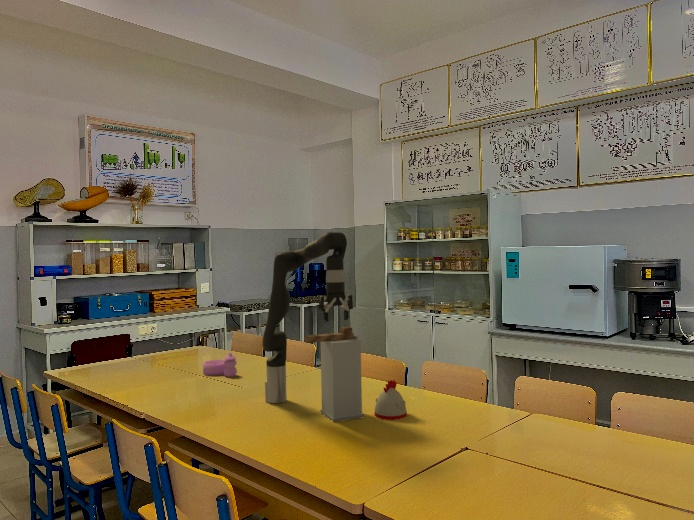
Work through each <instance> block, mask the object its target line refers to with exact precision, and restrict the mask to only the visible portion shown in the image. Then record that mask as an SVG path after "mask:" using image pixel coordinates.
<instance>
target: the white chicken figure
mask: <svg viewBox="0 0 694 520" xmlns="http://www.w3.org/2000/svg"><path fill="white" fill-rule="evenodd" d="M397 384H398V382H397V381H395V379H392V380H387V383H385V387H383V390H382V391H381V392H380V393H379V395H378V396H377V398H375V405H374V417H375V416H376V417H375V418H377V417H378V418H377V419H379V418H381V419H380V420H384V419H386V420H385V421H396V420H395V419H398V420H401V418H402V419H404V417H405V418H406V417H407V416H408V415H407V413H408V412H407V407H406V401H405V400H404V398H403V396H402V395H401V393H400V392H399V391H398V390H397V389H396V387H397ZM406 415H407V416H406Z"/></svg>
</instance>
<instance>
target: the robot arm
mask: <svg viewBox="0 0 694 520" xmlns="http://www.w3.org/2000/svg"><path fill="white" fill-rule="evenodd" d="M347 246H348V240H347V237H346V235H345V234H344V233H343V232H337V231H336V232H335V231H333V232H332V231H331V232H330V231H328V232H325V233H323V234H322V235H321V236H319V237H318V238H317V239H315V240H314V241H311V242H310V243H309V242H308V244H306V245H305V246H304V248H301V249H297V250H288V251H283V252H279V253H277V254H276V256H275V257H274V260H273V271H272V272H273V273H272V274H273V275H272V284H271V294H270V298H269V305H268V312H267V320H266V325H265V327H264V331H263V335H262V348H263V351H265V352H266V353H267V352H276V353H274V355H272V356H271V357H269V358H267V359H266V380H265V382H264V391H265V392H264V394H265V395H264V396H265V402H266V403H267V402H268V403H269V404H281V403H285V402H287V348H288V347H287V346H288V340H287V339H288V338H287V335H286V332H285V331H283V330H280V331H276V329H277V327H278V325H279V324H280V323H281V322H282V320H284V319H285V317H286V315H287V314H288V312H289V309H290V304H291V293H290V292H289V289H288V288H287V286H286V279H287V275H288V273H291V272H295V271H297V270H298V269H300V268H301V267H303V266H304V265H305V264H307V263H308V262H310V261H312V260H315V259H317V258H319V257H323V256H325V255H327V254H328V253H329V251H330V250H333V252H332V254H331V255H329V256H327V257H326V259H325V262H326V263H325V264H326V265H325V266H326V272H325V273H326V275H325V283H326V284H325V285H326V286H325V289H326V295H324V296H323V295H319V297H318V311H321V312H323V314H322V315H323V316H322V317H323V320H324V321H325V322H329V311H330V309H331V308H332V307H336V306H338V307H341V308H342V309H343V320H344V321H348V320H349V316H350V314H349V311H350V310H353V309H354V306H353V305H354V303H353V295H352V294H346V293H345V292H346V290H345V289H346V288H345V284H346V283H345V272H344V271H345V269H344V260H345V259H344V258H345V254H346V250H347ZM345 300H346V301H347V303H346V301H345ZM325 301H327V302H326V303H325Z"/></svg>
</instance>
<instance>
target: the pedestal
mask: <svg viewBox="0 0 694 520" xmlns="http://www.w3.org/2000/svg"><path fill="white" fill-rule="evenodd" d="M361 342H362V341H361V339H359V337H358V335H355V334H354V339H348V340H336V341H325V342H320V373H321V374H320V376H321V377H320V378H321V379H320V380H321V382H320V383H321V384H320V385H321V409H320V410H319V412H321V413H320V414H321V415H323V414H324V415H325V416H324V415H323V416H324V417H326V418H327V417H328V418H329V419H330V420H329V419H328V418H327V419H328V420H329V421H331V420H332V421H333V422H332V421H331V422H332V423H335V422H334V421H338V422H343V421H342V420H345V421H349V420H348V419H351V420H355V419H354V418H358V419H363V418H362V417H365V416H364V414H363V399H362V398H363V397H362V394H363V393H362V389H363V387H362V346H361V345H362V343H361Z"/></svg>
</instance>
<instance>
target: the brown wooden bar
mask: <svg viewBox="0 0 694 520" xmlns="http://www.w3.org/2000/svg"><path fill="white" fill-rule="evenodd" d="M354 335H355V334H354V332H353V327H351V326H342V327H341V326H340V332H335V333H334V332H333V333H332V332H331V333H321V334H310V335H308V334H307V335H304V342H305V343H307V344H311V343H312V344H313V343H321V342H325V341H336V340H348V339H354Z"/></svg>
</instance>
